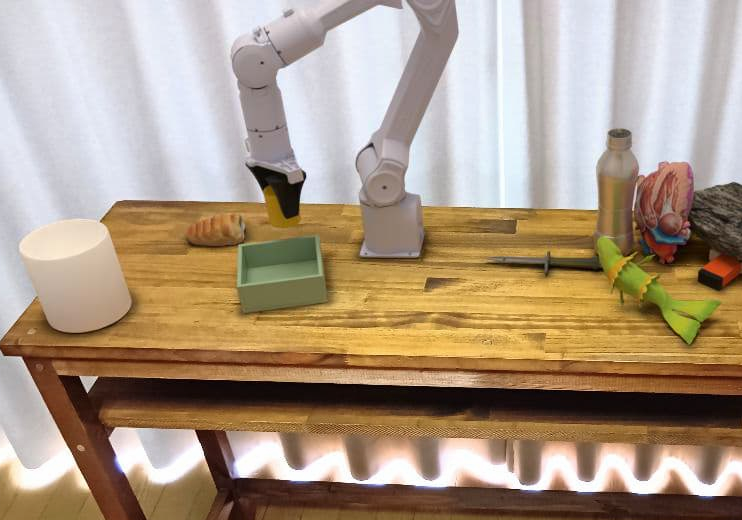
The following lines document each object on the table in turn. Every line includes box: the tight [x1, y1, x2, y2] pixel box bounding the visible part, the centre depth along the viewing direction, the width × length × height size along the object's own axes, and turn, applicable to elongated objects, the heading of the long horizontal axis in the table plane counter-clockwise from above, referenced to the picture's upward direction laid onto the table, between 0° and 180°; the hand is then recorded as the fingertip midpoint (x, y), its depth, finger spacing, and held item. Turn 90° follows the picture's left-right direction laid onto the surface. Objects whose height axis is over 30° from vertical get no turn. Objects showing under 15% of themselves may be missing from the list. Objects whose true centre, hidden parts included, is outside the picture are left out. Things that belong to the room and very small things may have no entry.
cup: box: [18, 218, 133, 334], centre depth 129 cm, size 12×12×12 cm
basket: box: [236, 234, 329, 314], centre depth 136 cm, size 12×12×5 cm
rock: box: [687, 181, 742, 261], centre depth 136 cm, size 12×16×6 cm
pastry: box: [184, 211, 246, 247], centre depth 147 cm, size 9×7×4 cm
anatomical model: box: [633, 160, 695, 265], centre depth 137 cm, size 11×6×15 cm
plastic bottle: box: [592, 127, 640, 258], centre depth 136 cm, size 6×7×20 cm
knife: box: [483, 250, 603, 275], centre depth 139 cm, size 19×2×5 cm
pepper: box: [262, 185, 302, 229], centre depth 136 cm, size 5×5×7 cm
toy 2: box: [697, 247, 742, 291], centre depth 137 cm, size 8×4×15 cm
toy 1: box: [597, 236, 723, 346], centre depth 128 cm, size 8×20×8 cm, turn 49°
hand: (283, 209), depth 137 cm, fingers closed on pepper, 5 cm apart
